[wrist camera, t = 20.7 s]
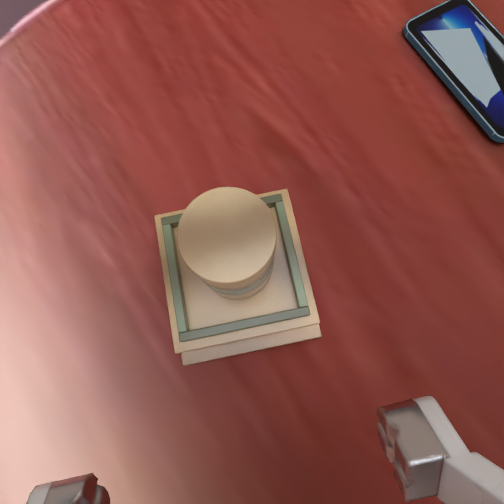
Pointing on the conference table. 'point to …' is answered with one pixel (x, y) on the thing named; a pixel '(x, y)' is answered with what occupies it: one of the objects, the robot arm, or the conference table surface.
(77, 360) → the conference table surface
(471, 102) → the smartphone
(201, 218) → the beige banded cylinder
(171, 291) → the stand
